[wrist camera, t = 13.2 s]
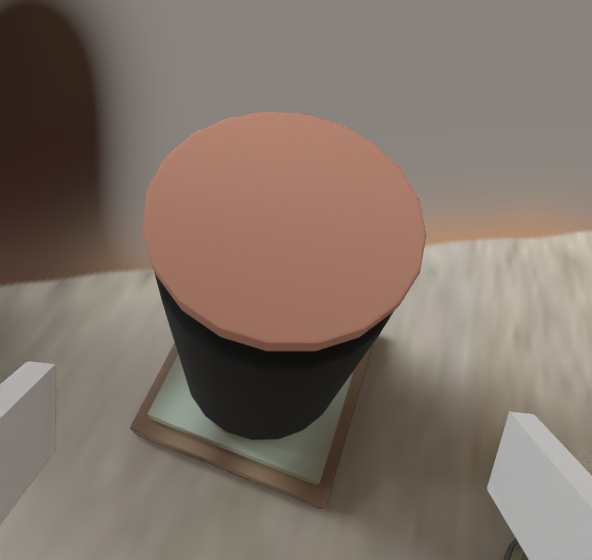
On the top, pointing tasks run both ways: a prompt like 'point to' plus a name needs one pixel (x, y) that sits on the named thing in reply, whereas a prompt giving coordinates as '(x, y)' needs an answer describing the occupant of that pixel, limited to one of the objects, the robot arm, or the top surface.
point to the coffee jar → (278, 263)
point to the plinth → (245, 465)
